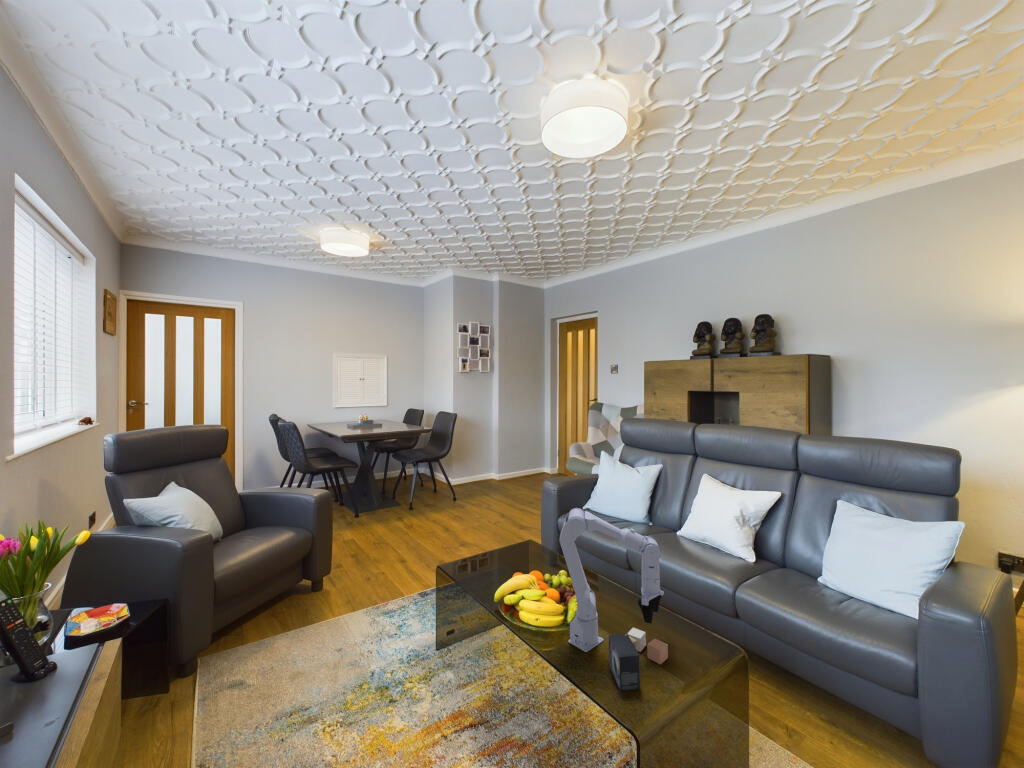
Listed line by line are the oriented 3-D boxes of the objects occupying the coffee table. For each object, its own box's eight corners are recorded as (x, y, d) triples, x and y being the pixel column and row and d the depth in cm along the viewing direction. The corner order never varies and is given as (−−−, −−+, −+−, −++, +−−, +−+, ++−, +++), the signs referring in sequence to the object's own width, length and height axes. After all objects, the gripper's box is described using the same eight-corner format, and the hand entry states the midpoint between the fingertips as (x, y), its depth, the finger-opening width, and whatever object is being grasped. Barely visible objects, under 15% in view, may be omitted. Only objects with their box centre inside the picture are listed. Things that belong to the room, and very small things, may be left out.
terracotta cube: (660, 664, 139) (660, 650, 139) (647, 658, 142) (647, 644, 142) (668, 658, 142) (667, 644, 142) (655, 651, 145) (654, 638, 145)
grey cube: (640, 652, 145) (640, 638, 145) (627, 647, 148) (627, 633, 148) (645, 645, 149) (645, 632, 148) (633, 640, 151) (632, 627, 151)
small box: (607, 667, 138) (607, 634, 138) (628, 665, 139) (627, 632, 138) (619, 692, 128) (618, 656, 127) (641, 690, 128) (640, 654, 128)
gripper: (657, 588, 139) (658, 631, 140) (668, 570, 152) (669, 609, 152) (634, 583, 143) (635, 625, 144) (647, 565, 155) (648, 604, 156)
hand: (651, 616), depth 148 cm, fingers open, 7 cm apart
